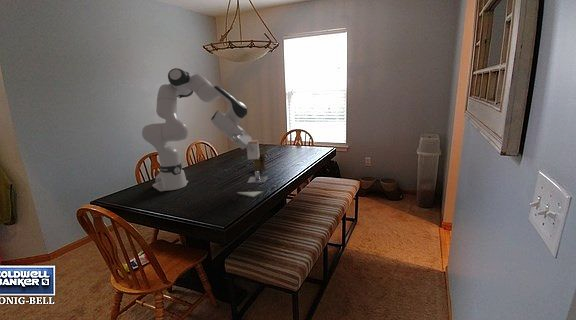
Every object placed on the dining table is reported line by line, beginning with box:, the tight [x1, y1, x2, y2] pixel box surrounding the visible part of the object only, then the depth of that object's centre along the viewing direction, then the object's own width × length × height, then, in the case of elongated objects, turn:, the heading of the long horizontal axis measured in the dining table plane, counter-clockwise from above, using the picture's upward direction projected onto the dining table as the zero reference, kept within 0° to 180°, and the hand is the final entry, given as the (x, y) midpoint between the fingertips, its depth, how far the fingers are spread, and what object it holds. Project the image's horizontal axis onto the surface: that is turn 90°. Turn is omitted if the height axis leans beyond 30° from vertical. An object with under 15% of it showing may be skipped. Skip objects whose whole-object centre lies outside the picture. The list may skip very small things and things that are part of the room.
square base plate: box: [246, 170, 268, 184], centre depth 173 cm, size 11×11×6 cm
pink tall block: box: [246, 139, 260, 160], centre depth 163 cm, size 6×6×10 cm
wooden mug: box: [253, 146, 268, 172], centre depth 193 cm, size 9×14×18 cm, turn 39°
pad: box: [236, 190, 267, 198], centre depth 156 cm, size 12×12×1 cm
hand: (254, 149), depth 163 cm, fingers closed on pink tall block, 6 cm apart
